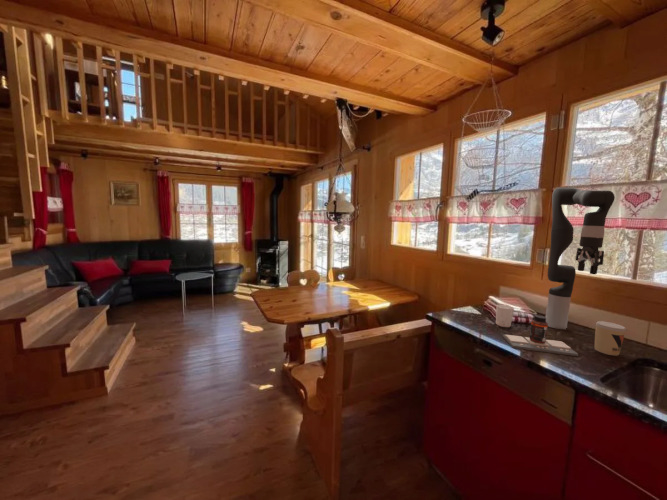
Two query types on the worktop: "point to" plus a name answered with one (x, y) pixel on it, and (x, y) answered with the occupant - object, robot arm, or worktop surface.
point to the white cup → (504, 315)
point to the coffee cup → (609, 337)
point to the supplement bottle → (538, 329)
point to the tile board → (539, 345)
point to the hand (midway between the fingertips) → (586, 272)
